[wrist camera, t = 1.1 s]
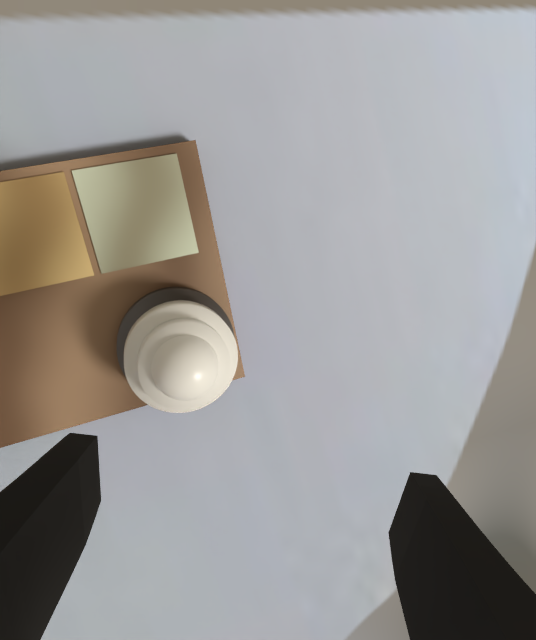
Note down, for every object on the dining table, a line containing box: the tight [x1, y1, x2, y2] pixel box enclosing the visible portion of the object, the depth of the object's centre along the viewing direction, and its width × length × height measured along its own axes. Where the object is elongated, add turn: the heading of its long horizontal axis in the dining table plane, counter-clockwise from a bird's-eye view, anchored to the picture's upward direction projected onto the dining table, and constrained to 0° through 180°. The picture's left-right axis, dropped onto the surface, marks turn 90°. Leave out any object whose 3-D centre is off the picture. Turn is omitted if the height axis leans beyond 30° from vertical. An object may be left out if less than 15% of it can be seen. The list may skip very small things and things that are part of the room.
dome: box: [124, 300, 238, 413], centre depth 18 cm, size 5×5×3 cm
